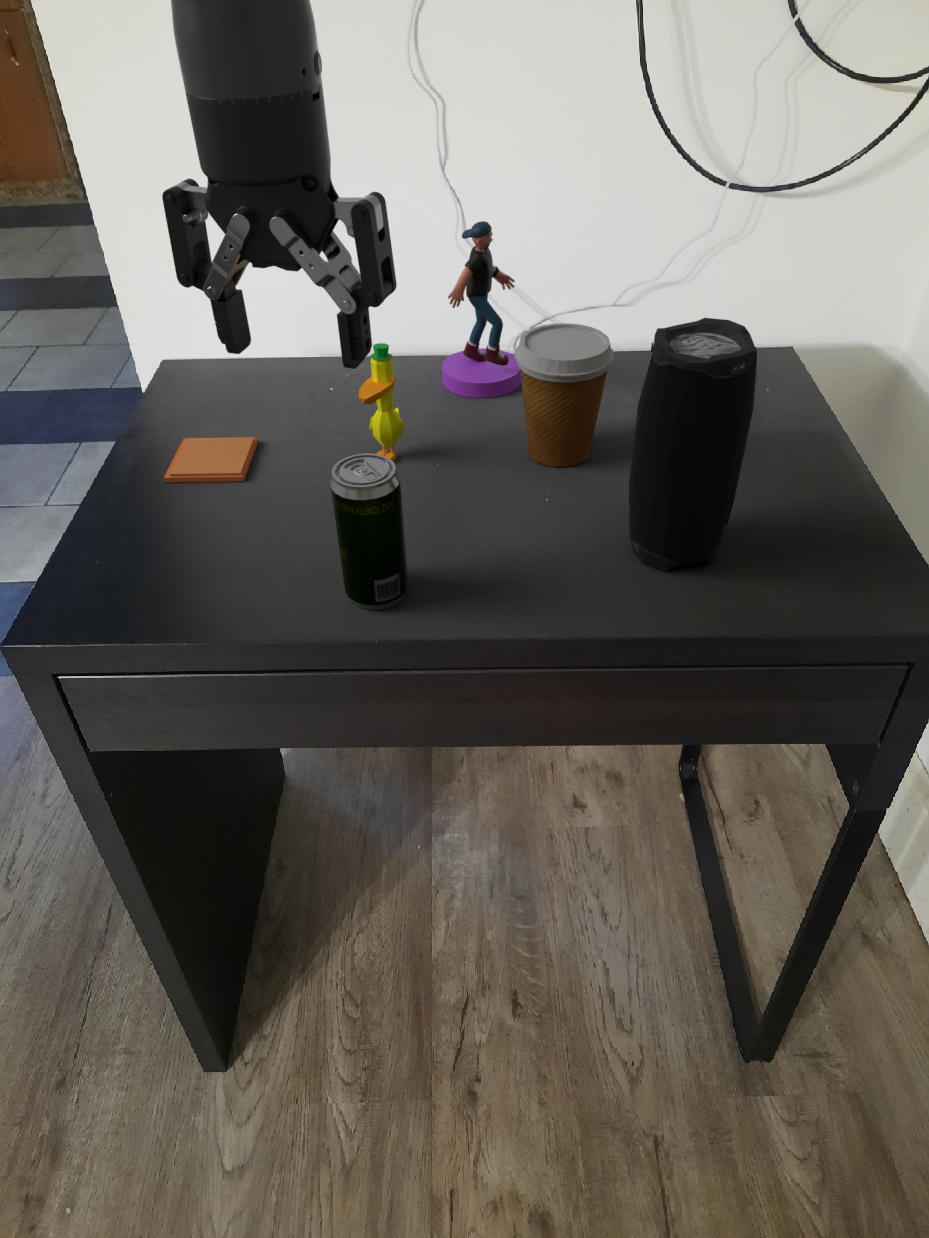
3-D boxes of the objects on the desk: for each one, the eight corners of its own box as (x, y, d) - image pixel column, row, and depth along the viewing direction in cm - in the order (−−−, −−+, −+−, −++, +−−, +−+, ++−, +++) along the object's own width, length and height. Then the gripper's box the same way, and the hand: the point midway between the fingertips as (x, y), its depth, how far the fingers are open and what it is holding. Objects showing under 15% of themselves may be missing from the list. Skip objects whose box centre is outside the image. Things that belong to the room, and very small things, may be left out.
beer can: (421, 594, 76) (413, 471, 68) (369, 621, 74) (354, 496, 66) (384, 565, 79) (372, 444, 72) (333, 590, 77) (315, 468, 69)
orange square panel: (165, 482, 91) (162, 475, 90) (184, 443, 97) (182, 435, 96) (243, 481, 91) (242, 474, 90) (258, 442, 97) (257, 434, 96)
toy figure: (385, 478, 90) (375, 366, 83) (354, 471, 92) (341, 360, 84) (415, 447, 95) (408, 337, 87) (385, 441, 96) (376, 332, 88)
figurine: (512, 401, 102) (515, 237, 91) (433, 394, 104) (425, 232, 93) (527, 366, 109) (531, 209, 98) (453, 360, 111) (448, 205, 99)
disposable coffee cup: (620, 466, 91) (632, 353, 83) (532, 483, 89) (536, 369, 81) (583, 423, 98) (590, 315, 90) (500, 438, 96) (500, 329, 88)
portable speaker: (605, 556, 80) (625, 344, 67) (654, 508, 85) (682, 304, 73) (694, 591, 76) (734, 372, 63) (740, 538, 81) (785, 327, 69)
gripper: (103, 88, 49) (174, 368, 59) (343, 97, 45) (373, 394, 56) (177, 62, 54) (230, 324, 65) (397, 69, 51) (416, 345, 61)
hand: (296, 356), depth 60 cm, fingers open, 8 cm apart
